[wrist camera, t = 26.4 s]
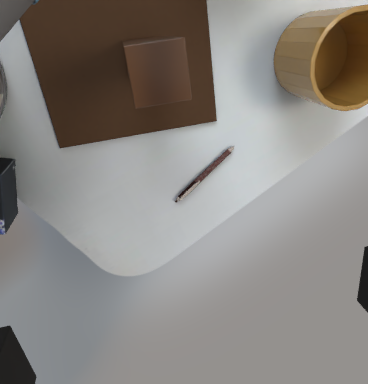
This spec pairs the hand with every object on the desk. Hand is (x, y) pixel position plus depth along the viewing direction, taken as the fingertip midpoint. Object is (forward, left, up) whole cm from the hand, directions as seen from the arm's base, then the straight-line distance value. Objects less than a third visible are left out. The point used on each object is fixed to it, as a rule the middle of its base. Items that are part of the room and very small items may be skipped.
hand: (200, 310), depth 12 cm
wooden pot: (+22, +4, -33) cm, 40 cm away
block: (+1, +7, -32) cm, 33 cm away
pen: (+7, -9, -33) cm, 35 cm away
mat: (-1, +6, -33) cm, 33 cm away
